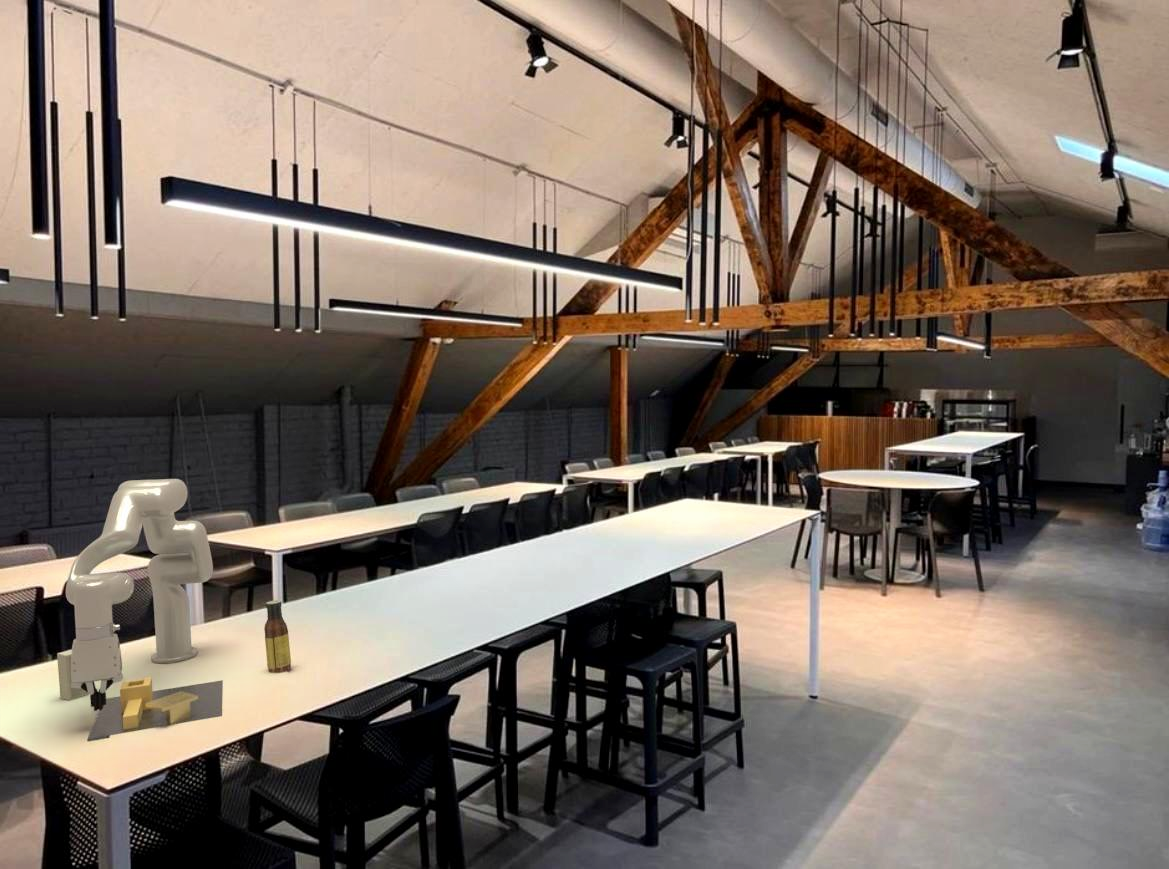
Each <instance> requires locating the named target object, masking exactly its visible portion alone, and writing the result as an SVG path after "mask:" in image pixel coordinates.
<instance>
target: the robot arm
mask: <svg viewBox="0 0 1169 869" xmlns="http://www.w3.org/2000/svg"><path fill="white" fill-rule="evenodd" d="M111 498H112V499H111V502H110V505H109V509H108V510H107V516H106V519H105V522H104V525H103V529H102V533H101V535H100V536H99V537H98V538H97V539H95V540H94V541H92V542H91V543H90V544H89V545H87V547H85V548H84V549H83V550H82V551H81V552H80V553H79V554H78V556H76V558H75V560H74V561H73V562H72V565H71V566H70V572H69V575H68V577H67V582H66V586H65V597H66V599H67V601H68V603H70V605H73V606H74V623H75V638H74V639H73V640H72V641H73V642H72V646H71V649H72V654H71V680H72V682H71V688H82V689H83V690H85V691H86V692H88V694H87V695H89V698H90V700H89V701H90V708H93V711H94V712H97V711H100V710H102V709H103V706H104V705H106V698H107V694H106V693H107V692H106V691H107V690H108V689H109V688H110V687H111V686H112V685H114V684H117V683H119V682H123V679H124V675H123V673H122V672H123V661H122V652H121V651H122V650H121V646H120V644H121V643H120V640H119V637H118V634H117V633H115V632H117V631H120V630H121V625H120V624H115V623H114V621H113V607H112V606H113V605H117V604H122V603H124V602H126V601H128V599H129V598H130V597H132V594H133V592H134V590H135V582H134V580H133V578H132V577H131V575H129V574H127V573H125V572H107V573H105V572H103V573H91V572H92V571H94V569H95V568H96V567H98V566H99V565H100V564H102V563H103V562H105V561H107V560H110V559H111V558H115V557H116V556H119V555H121V554H123V553H125V552H127V551H130V550H132V549H133V548H135V547H136V546H137V545H138V544H139V541H140V535H141V532H142V528H143V532H144V536H145V540H146V544H147V546H148V549H149V551H150V552H152V553H153V554H156V555H155V556H152V558H151V559H150V560H149V561H148V563H147V564H148V565H147V574H148V578H149V581H150V585H151V590H152V598H153V599H152V601H153V612H154V614H153V615H154V629H155V630H154V631H155V634H154V635H155V647H156V648H155V649H156V652H155V653H153V654H152V655H151V656H150V661H151V662H153V663H157V664H168V663H169V664H170V663H177V662H182V661H186V660H189V659H191V658H194V657H195V656H196V655H198V648H197V647H193V646H192V631H191V630H192V629H191V614H190V613H191V612H190V597H189V594H188V593H187V591H186V590H185V589H184V588H183V586H181V585H188V584H199V583H205V582H208V581H209V580H210V579H211V578H212V576H213V573H214V572H213V571H214V566H213V565H214V563H213V558H212V554H211V553H212V552H211V549H210V548H211V547H210V543H209V538H208V534H207V529H206V527H205V526H204V525H203V523H202V522H200V521H199V520H177V519H176V517H175V513H176V512H177V511H179V510H180V509H181V508H182V507H184V505H185V503H186V502H187V499H188V487H187V485H186V483H185V482H184V481H183V480H181V479H179V478H164V479H163V478H162V479H161V478H159V479H140V480H139V479H138V480H135V479H134V480H133V479H132V480H127V481H124V482H122V483H120V485H119V486H118V488H117V491H116V492H115V493H114V494H113V496H112V497H111ZM99 681H100V685H99V686H100V687H99V689H98V688H96V682H99Z"/></svg>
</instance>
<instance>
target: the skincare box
mask: <svg viewBox="0 0 1169 869" xmlns="http://www.w3.org/2000/svg"><path fill="white" fill-rule="evenodd" d="M71 654H72V648H71V649H67V650H64V651H61V652H57V654H56V655H57V656H56V658H57V671H58V681H59V682H58V684H59V685H58V686H59V696H60V697H59V698H60V699H63V700H67V701H71V700H75V699H79V698H81V697H84V696H86V695H89V694H88V692H86V691H85V690H83V689H82V688H71V682H72V680H71Z"/></svg>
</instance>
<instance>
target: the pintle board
mask: <svg viewBox="0 0 1169 869" xmlns="http://www.w3.org/2000/svg"><path fill="white" fill-rule="evenodd" d="M223 681H224V680H217V681H216V680H214V681H209V682H203V683H197V684H189V685H183V686H178V687H177V686H176V687H170V688H164V689H159V690H152V693H153V701H151V702H148V703H145V707H148V708H151V709H146V710H143V712H142V715H141V719H140V722H139V726H138V727H136V728H130V729H125V730H123V715H124V713H122V714H121V700H120V695H119V696H113V697H108V698H107V697H106V705H104V706H103V709H102V710H98V713H97V715H96V718H95V720H94V723H93V725H92V728H91V730H90V732H89V735H88V737H87V738H86V740H87V742H91V741H97V740H102V739H108V738H110V737H111V736H114V735H121V734H125V733H132V732H138V731H144V730H148V729H154V728H155V729H157V728H161V727H162V728H163V727H166V726H173V725H178V724H184V723H190V722H196V721H202V720H208V719H212V718H214V719H215V718H218V717H222V716H223V693H224V692H223V688H224V686H223V683H224V682H223Z"/></svg>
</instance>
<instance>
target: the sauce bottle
mask: <svg viewBox="0 0 1169 869" xmlns="http://www.w3.org/2000/svg"><path fill="white" fill-rule="evenodd" d="M265 608H266V613H267V617H266V618H267V619H266V621H265V623H264V641H265V652H266V664H267V669H268V672H269V673H273V674H279V673H283V672H289V671H290V670H291V668H292V666H291V665H292V664H291V663H292V661H291V660H292V659H291V650H290V639H289V636H290V635H289V629H288V625H287V623H286V622H285V620H284V618H283V613H282V601H281V600H279V599H278V600H277V599H276V600H275V599H274V600H269V601H267V602H266V603H265Z"/></svg>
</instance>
